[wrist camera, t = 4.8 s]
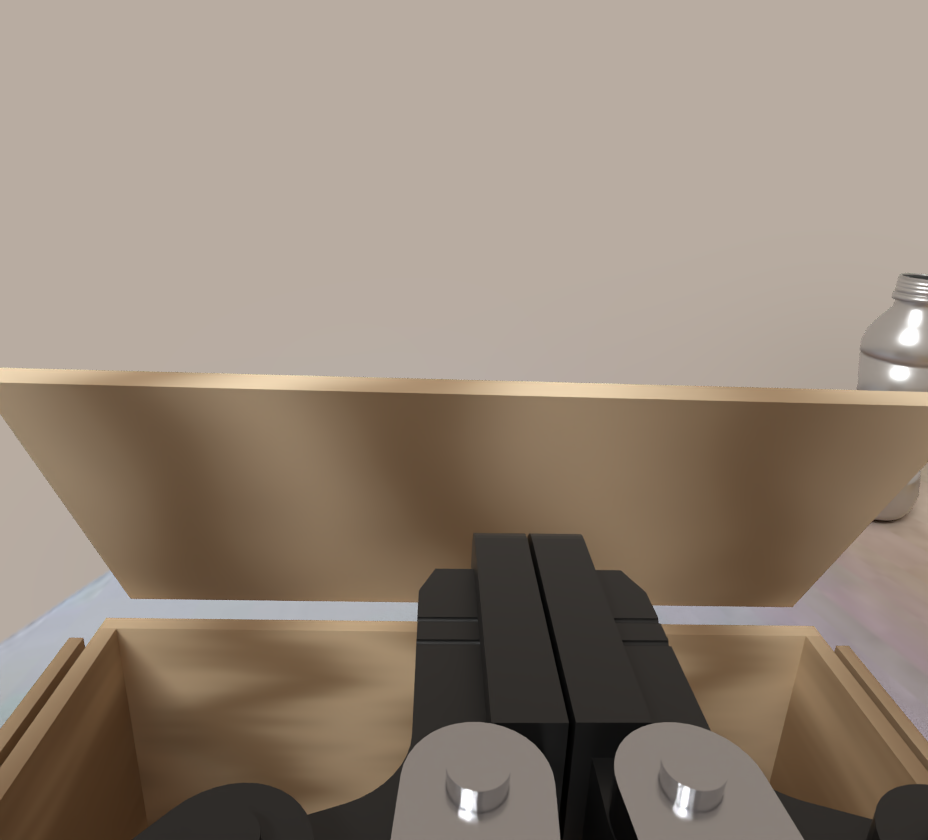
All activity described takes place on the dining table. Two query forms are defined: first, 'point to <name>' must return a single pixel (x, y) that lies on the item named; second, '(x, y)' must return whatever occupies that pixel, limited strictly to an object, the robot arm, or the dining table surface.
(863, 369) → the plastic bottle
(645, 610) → the robot arm
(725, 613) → the dining table surface
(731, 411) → the front flap
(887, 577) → the dining table surface
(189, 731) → the light wooden open box
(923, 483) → the dining table surface
